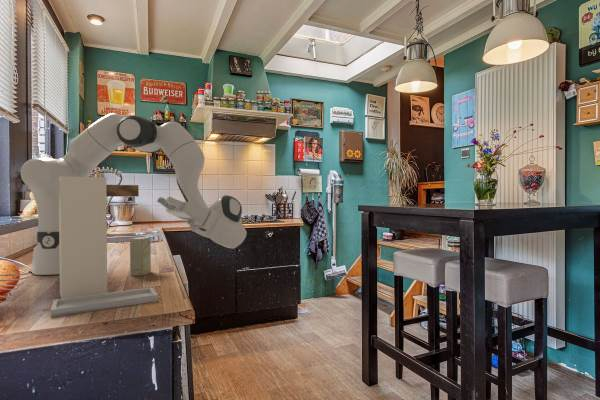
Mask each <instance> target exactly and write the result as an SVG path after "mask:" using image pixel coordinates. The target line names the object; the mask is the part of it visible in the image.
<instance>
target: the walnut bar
mask: <svg viewBox="0 0 600 400" xmlns="http://www.w3.org/2000/svg"><path fill="white" fill-rule="evenodd" d="M106 195H107V197H140V196H139V195H140V194H139V185H138V184H106Z"/></svg>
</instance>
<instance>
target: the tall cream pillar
mask: <svg viewBox="0 0 600 400" xmlns="http://www.w3.org/2000/svg"><path fill="white" fill-rule="evenodd" d="M106 185H107V177H105V176H102V177H99V176H97V177H96V176H89V177H69V176H60V177H59V255H60V274H59V296H60V299H65V298H73V297H80V296H88V295H96V294H104V293H108V229H107V227H108V226H107V225H108V224H107V223H108V222H107V221H108V220H107V219H108V218H107V217H108V216H107V215H108V213H107V212H108V210H107V207H108V206H107V204H108V203H107V197H108V196H107V195H106Z"/></svg>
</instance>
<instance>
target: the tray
mask: <svg viewBox="0 0 600 400" xmlns="http://www.w3.org/2000/svg"><path fill="white" fill-rule="evenodd" d="M157 302H159V294H158V293H157V292H156V290H155V289H154V288H153V287H152V286H151V287H144V288H138V289H137V288H136V289H135V288H134V289H128V290H121V291H113V292H107V293H104V294H96V295H88V296H80V297H73V298H65V299H61V298H59V299H53V301H52V304H51V308H50V318H55V317H62V316H68V315H75V314H76V315H77V314H82V313H88V312H95V311H102V310H107V309H116V308H121V307H129V306H135V305H141V304H149V303H157Z"/></svg>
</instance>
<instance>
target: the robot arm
mask: <svg viewBox="0 0 600 400" xmlns="http://www.w3.org/2000/svg"><path fill="white" fill-rule="evenodd" d="M123 145H125V146H126V147H129V148H132V149H134V150H136V151H138V152H144V153H149V154H155V153H158V152H161V151H163V152H164V154H165V155H166V157H167V158H168V160H169V161H170V163H171V164H172V165H171V166H172V167H173V169H174V173H175V176H176V184H177V186H178V189H179V191H180V194H181V195H182V197H183V199H184V200H185V201H181V200H178V199H176V198H174V197H173V196H168V197H167V198H166V199H165V198H164V197H162V196H159V197H158V199H157V200H156V201H157V203H158V204H159V205H162V206H163V207H164V208H165V212H166V213H168V214H169V215H171V216H174V217H176V218H178V219H180V220H182V221H185V222H187V224H188V225H189V230H190V231H192V232H194V233H196V234H197V235H200V236H202V237H204V238H209V239H210V240H212V242H214V243H215V244H218V245H220V246H222V247H225V248H228V249H233V250H234V249H236V248H238V247H240V246H241V245H242V244H243V242H244V241H245V239H246V238H247V232H248V231H247V230H246V229H245V226H244V225H243V222H242V213H243V208H242V204H241V203H240V201H239V200H238V199H237V198H236V197H234V196H232V195H225V194H224V195H223V196H221V197H220V198H219V199H217V200H216V201H215V202H214V203H212V205H210V207H208V206H207V203H206V202H205V199H204V198H203V196H202V194H201V192H200V189H199V179H200V175H201V173H202V171H203V168H204V165H205V154H204V151H203V149H202V148H201V147H200V145H199V144H198V143H197V141H196V140H195V139H194V137H193V136H192V135H191V134H190V132H189V131H188V130H187V129H186V128H185V127H184V126H182V124H181V123H180V122H177V121H168V122H165V123H163V124H161V125H157V124H156V123H154V121H152V120H149V119H147V118H145V117H143V116H139V115H133V114H132V115H127V116H122V115H121V114H118V113H116V112H112V113H111V112H110V113H108V114H106V115H104V116H102V117H101V118H99V119H97V120H96V121H94V122H93V123H92V124H90V125H89V126H88V127H87V128H85V129H84V130H82V132H80V133H78V135H77V136H75V137H74V138H73V139H72V140H70V142H69V144H68V146H69V147H68V148H69V149H68V151H67V152H66V153H65V155H64V156H63V157H60V158H52V157H36V158H31V159H28V160H27V161H25V162H24V164H22V166H21V168H20V178H21V180H22V181H23V183H24V184H25V185H26V186H27V187H28V188H29V189H30V191H31V193H32V196H33V199H34V201H35V204H36V208H37V221H38V222H37V224H38V226H37V228H38V231H37V232H36V242H37V245H35V247H34V248H33V253H32V262H31V269H32V275H36V276H37V275H38V276H53V275H60V255H59V177H60V176H69V177H90V175H92V172H93V171H94V170H95V169H96V167H97V166H98V165H99V164H100V163H103V161H104V160H105V159H107V157H109V156H110V155H111V154H113V153H114V152H115V151H116V150H117V149H119V148H120V147H121V146H123Z"/></svg>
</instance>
